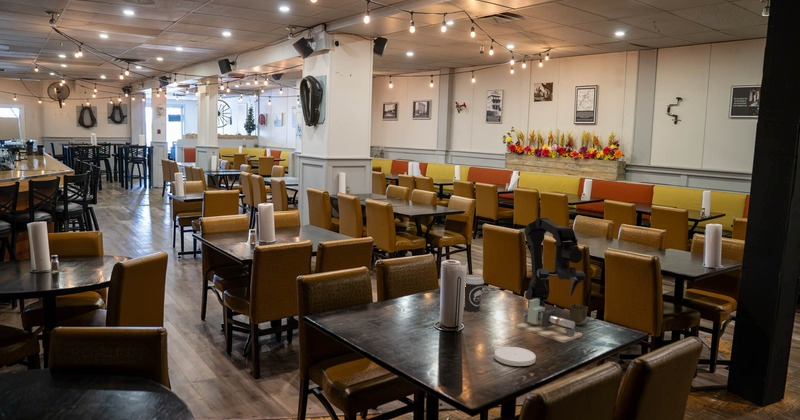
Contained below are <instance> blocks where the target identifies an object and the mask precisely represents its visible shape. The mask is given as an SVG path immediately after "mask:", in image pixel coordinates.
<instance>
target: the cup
mask: <svg viewBox="0 0 800 420" xmlns="http://www.w3.org/2000/svg"><path fill="white" fill-rule="evenodd" d="M588 311H589V306H587V305H584V304H579V303H577V304H575V303H573V304H572V303H571V304H570V305H569V315H570V316H569V317H570V320H571V321H574V322H575V326H578V327H579V326H582V325H583V322H584V321H585V320H586V318H587V314H588Z"/></svg>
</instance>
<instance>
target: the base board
mask: <svg viewBox="0 0 800 420" xmlns="http://www.w3.org/2000/svg"><path fill="white" fill-rule="evenodd" d="M514 328H515V329H518V330H519V329H520V330H522V331H525V332H529V333H532V334H535V335H538V336H542V337H544V338H548V339H551V340H554V341H557V342H560V343H563V344H565V343H567V342H570V341H572V340H575V339H577V338H580V337H582V336H583V333H582V332H578V331H576V330H574V336H572V337H569V336H566V330H567V327H565V328H564V327H563V326H559V325H556V324H555V325H552V326H549V327H543V326H542V322H541V323H538V324H533V323H529V324H526V323H524V321H523V322H520V323H517V324H516V323H515V324H514Z"/></svg>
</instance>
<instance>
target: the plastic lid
mask: <svg viewBox="0 0 800 420" xmlns="http://www.w3.org/2000/svg"><path fill="white" fill-rule="evenodd" d="M536 356H537V355H536V354H535V353H534V352H533V351H532V350H529V349H527V348H523V347H517V346H516V347H515V346H503V347H498V348H496V349H495V351H494V356H493V357H494V359H495V360H496V361H498V362H499V363H501V364H504V365H508V366H515V367H522V366H523V367H525V366H531V365H533V364H535V363H536Z"/></svg>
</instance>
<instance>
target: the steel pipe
mask: <svg viewBox="0 0 800 420" xmlns="http://www.w3.org/2000/svg"><path fill="white" fill-rule="evenodd" d="M542 316H543V313H542V312H538V319H540V320H542ZM527 320H528V307H526V308H525V309H524V311H523V322H524V323H526V324H529V322H527ZM548 322H550V323H553V324H555V325H556V326H559V327H562V328H564V327H565V328H566V329H567V330H566V336H569V337H572V336H574V331H575V327H576V325H575V322H574V321H573V320H571V319H567V318H566V319H565V318H563V317H560V316H556V315H555V316H553V315H549V317H548Z"/></svg>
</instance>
